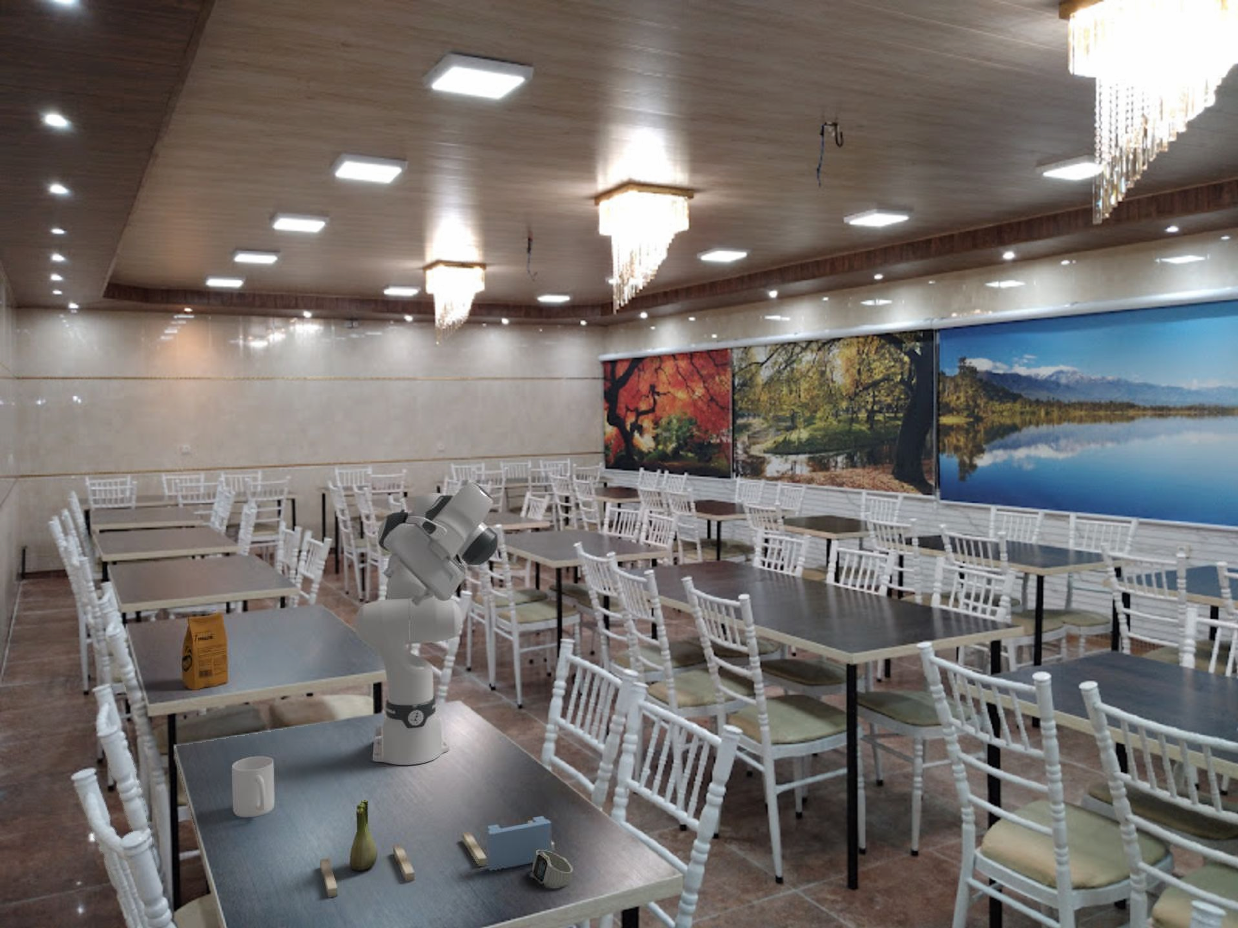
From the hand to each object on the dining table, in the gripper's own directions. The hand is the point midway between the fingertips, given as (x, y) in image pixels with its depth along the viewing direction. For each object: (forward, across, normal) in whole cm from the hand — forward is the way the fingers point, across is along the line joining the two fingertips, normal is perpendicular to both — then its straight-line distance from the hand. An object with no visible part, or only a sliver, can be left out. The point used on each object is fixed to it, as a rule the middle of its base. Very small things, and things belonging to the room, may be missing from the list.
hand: (400, 589), depth 208 cm
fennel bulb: (+47, -20, +23) cm, 56 cm away
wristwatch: (+30, -38, +49) cm, 69 cm away
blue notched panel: (+31, -36, +41) cm, 63 cm away
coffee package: (+34, -25, -120) cm, 128 cm away
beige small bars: (+39, -28, +30) cm, 56 cm away
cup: (+52, -14, -14) cm, 55 cm away
